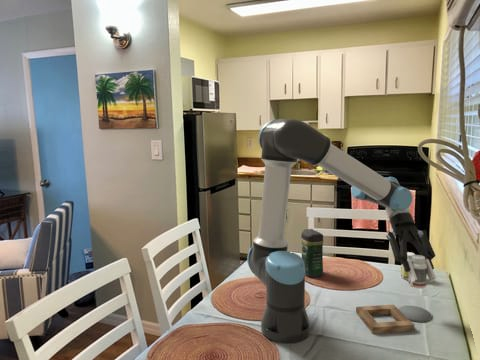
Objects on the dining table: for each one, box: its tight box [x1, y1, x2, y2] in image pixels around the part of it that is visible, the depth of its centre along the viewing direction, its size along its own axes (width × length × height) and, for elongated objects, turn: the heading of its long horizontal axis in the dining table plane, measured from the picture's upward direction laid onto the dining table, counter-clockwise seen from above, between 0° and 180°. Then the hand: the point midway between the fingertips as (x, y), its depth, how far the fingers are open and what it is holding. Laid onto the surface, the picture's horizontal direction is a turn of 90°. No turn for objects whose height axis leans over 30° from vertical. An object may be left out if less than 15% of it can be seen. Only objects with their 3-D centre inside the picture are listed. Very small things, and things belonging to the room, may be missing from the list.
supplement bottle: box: [400, 251, 416, 281], centre depth 155 cm, size 6×6×10 cm
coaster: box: [398, 305, 432, 323], centre depth 127 cm, size 10×10×1 cm
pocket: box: [355, 304, 415, 334], centre depth 123 cm, size 13×13×2 cm
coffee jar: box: [300, 228, 324, 278], centre depth 161 cm, size 10×8×19 cm
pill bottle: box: [407, 254, 428, 289], centre depth 125 cm, size 5×5×10 cm
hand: (423, 280), depth 122 cm, fingers closed on pill bottle, 5 cm apart
